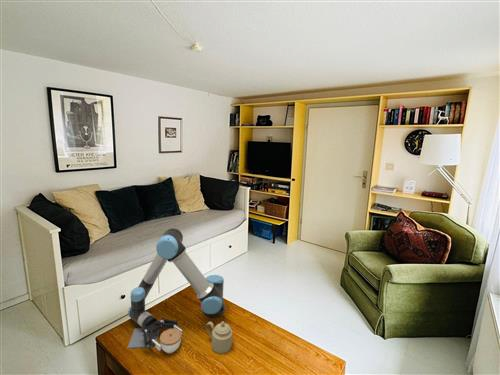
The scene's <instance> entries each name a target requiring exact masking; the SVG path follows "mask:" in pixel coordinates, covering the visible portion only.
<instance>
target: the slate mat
mask: <svg viewBox="0 0 500 375" xmlns="http://www.w3.org/2000/svg"><path fill="white" fill-rule="evenodd" d="M142 330H145V329H143V328H142V327H137V328H136V327H135V328H134V330H133V332H132V334H131V337H130V340H129V342H128V345H127V349H129V350H130V349H140V348H141V349H142V348H153V347H152V346H149V345H147V346H145V343H144V337H143V335H142ZM160 331H161V329H160V330H158V331H157V332H154V333H153V337H152V339H154V340H155V341H156V342H157V343H158V339H159V336H160ZM146 336H147V341H148V340H149V336H150V332H147V334H146Z"/></svg>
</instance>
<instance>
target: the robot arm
mask: <svg viewBox="0 0 500 375" xmlns="http://www.w3.org/2000/svg"><path fill="white" fill-rule="evenodd" d="M183 239H184V236H183V233H182V232H181V230H180V229H178V228H173V227H172V228H169V229H167V230H165V232H164V233H162V236H161V237H160V238H159V239H158V241H157V243H156V246H155V247H156V249H155V250H156V254H155V256H154V258H153V260H152V262H151V264H150V265H149V267H148V269H147V271H146V273H145V274H144V276H143V278H142V279H141V282H140V283H139V285H138V286H137V287H134V288H133V289H132V290H131V291H130V295H129V296H130V307H129V308H128V310H127V316H128V317H129V318H130V319H131V320H132V321H134V323H136V324H137V325H138V326H140V328H143V329H145V330H142V335H143V337H144V343H145V346H147V345H149V346H152V347H151V348H155V349H157V350H158V351H159V352H160V351H161V350H162V348H161V345H160V343H159V342H158V341H157V342H156V341H155V340H154V339H152V337H153V333H154V332H157V331H158V330H160V331H161V330H163V329H177V330H179V331H180V332H181V336H182V335H183V330H182V329H181V327H180V326H179V322H178V320H172V319H169V318H165V317H162V318H161V320H158V319H157V317H155V316H154V315H153V314H151V313H150V312H148V310H146V298H147V296H148V295H149V293H150V292H151V290H152V288H153V286H154V284H155V282H156V281H157V279H158V277H159V276H160V274H161V272H162V271H163V268H164V267H165V266H166V263H167V262H168V263H173V264H174V265H175V267H176V268H177V270H179V272H180V274H181V275H182V276H183V277H184V278H185V279H186V281H187V282H188V284H189V285H190V286H191V287H192V289H193V290H194V291H195V293H196V298H197V299H198V301H199V302H200V303H201V304H200V308H201V313H202V315H204V316H206V317H208V318H217V317H220V316H222V315H224V313H225V311H226V303H225V301H224V283H225V282H224V277H223V276H222V275H219V274H210V275H208V276H206V277H205V276H204V275H203V273H202V272H201V270H200V269H199V268H198V266H197V265H196V264H195V262H193V260H192V258H191V257H190V256H189V255H188V254H187V252H186V251H187V250H186V249H187V248H186V246H185V245H184V244H183ZM147 332H150V336H149V340H148V341H147V336H146V334H147Z"/></svg>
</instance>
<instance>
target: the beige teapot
mask: <svg viewBox="0 0 500 375" xmlns="http://www.w3.org/2000/svg"><path fill="white" fill-rule="evenodd" d="M205 327H206V328H205V329H206V332H207V334H208V336H210V339H211V349H212V351H213V352H214V353H217V354H225V353H228V352H230V350H231V349H232V345H233V330H232V328H231V326H230V324H228V323H226V322H225V321H223V320H222V321H221V322H220V323H217V324H216V325H215V324H214V323H213V322H212V321H208V322H207V323H206V325H205ZM210 327H211V329H210Z"/></svg>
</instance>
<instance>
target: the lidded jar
mask: <svg viewBox="0 0 500 375" xmlns="http://www.w3.org/2000/svg"><path fill="white" fill-rule="evenodd" d="M181 340H182V335H181V332H180V331H179V330H177V329H174V328H167V329H166V330H164V331H163V332H162V333H160V334H159V344H160V345H161V350H162V351H163V352H165V353H167V354H173V353H174V352H176V350H178V348H179V347H180V344H181V343H182V342H181Z"/></svg>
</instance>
